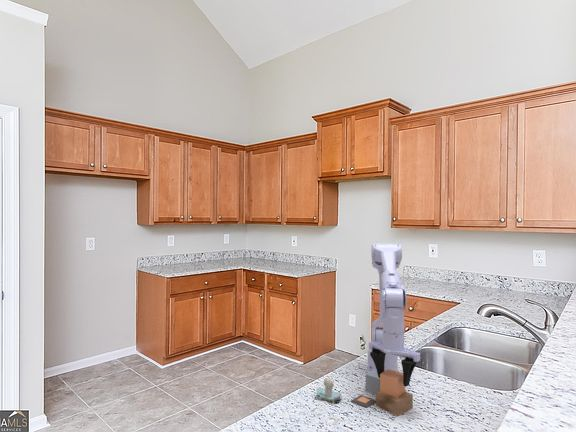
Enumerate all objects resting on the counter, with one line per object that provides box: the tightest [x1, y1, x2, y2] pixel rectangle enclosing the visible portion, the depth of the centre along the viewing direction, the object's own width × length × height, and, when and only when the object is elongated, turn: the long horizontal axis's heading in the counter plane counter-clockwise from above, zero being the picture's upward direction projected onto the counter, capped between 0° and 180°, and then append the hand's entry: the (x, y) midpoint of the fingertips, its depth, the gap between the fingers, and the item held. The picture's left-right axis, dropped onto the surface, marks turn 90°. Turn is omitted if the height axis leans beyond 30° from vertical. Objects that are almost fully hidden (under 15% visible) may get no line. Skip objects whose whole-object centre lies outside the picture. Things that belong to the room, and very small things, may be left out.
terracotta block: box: [380, 369, 406, 398], centre depth 100 cm, size 5×5×5 cm
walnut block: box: [375, 390, 414, 417], centre depth 99 cm, size 7×7×4 cm
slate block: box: [364, 370, 380, 396], centre depth 109 cm, size 5×5×5 cm
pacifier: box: [316, 377, 343, 402], centre depth 104 cm, size 7×6×6 cm
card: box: [350, 394, 376, 409], centre depth 101 cm, size 5×5×1 cm
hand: (393, 380), depth 100 cm, fingers open, 7 cm apart
